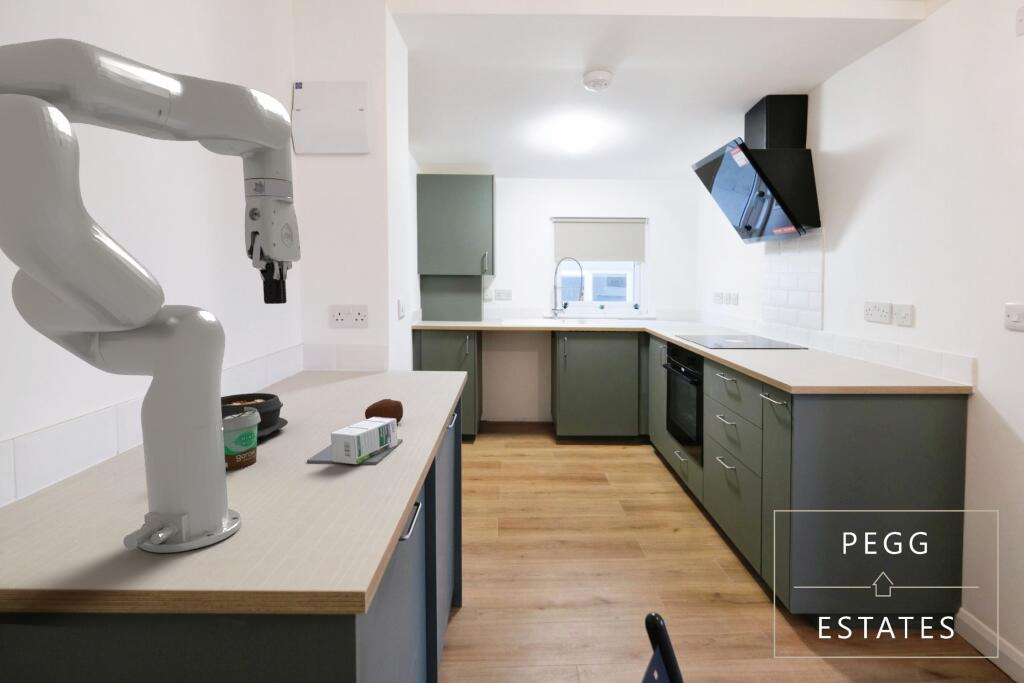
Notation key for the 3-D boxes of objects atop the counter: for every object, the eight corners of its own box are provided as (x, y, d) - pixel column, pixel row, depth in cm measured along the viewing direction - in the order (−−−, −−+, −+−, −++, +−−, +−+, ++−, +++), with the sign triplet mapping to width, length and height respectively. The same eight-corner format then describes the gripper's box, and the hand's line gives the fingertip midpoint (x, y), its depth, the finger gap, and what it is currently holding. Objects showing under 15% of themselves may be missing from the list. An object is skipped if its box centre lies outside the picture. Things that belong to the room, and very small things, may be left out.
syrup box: (354, 435, 108) (398, 418, 121) (328, 432, 110) (375, 416, 124) (355, 465, 108) (399, 444, 122) (330, 461, 111) (376, 442, 124)
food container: (235, 476, 105) (232, 421, 104) (206, 474, 106) (202, 420, 105) (276, 456, 117) (273, 407, 116) (249, 454, 118) (246, 406, 117)
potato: (406, 426, 139) (405, 400, 139) (366, 430, 136) (365, 403, 136) (401, 420, 146) (400, 395, 145) (363, 424, 143) (362, 398, 142)
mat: (376, 464, 110) (376, 461, 110) (307, 462, 112) (306, 460, 112) (402, 441, 126) (402, 439, 126) (341, 440, 128) (341, 438, 128)
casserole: (285, 444, 126) (283, 406, 125) (189, 453, 120) (186, 413, 119) (290, 419, 150) (289, 387, 149) (210, 425, 144) (208, 392, 143)
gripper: (266, 185, 89) (273, 305, 91) (311, 199, 104) (316, 301, 106) (220, 187, 90) (228, 305, 92) (271, 200, 105) (277, 302, 107)
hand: (275, 303), depth 99 cm, fingers closed
